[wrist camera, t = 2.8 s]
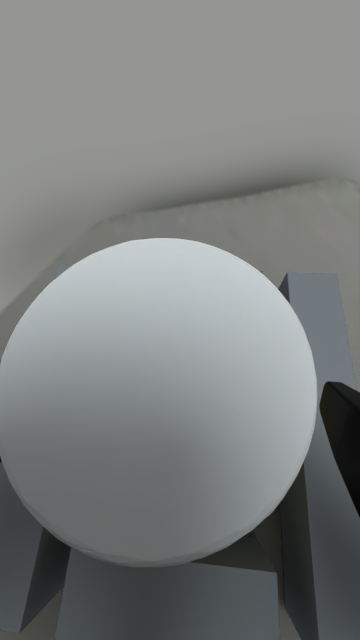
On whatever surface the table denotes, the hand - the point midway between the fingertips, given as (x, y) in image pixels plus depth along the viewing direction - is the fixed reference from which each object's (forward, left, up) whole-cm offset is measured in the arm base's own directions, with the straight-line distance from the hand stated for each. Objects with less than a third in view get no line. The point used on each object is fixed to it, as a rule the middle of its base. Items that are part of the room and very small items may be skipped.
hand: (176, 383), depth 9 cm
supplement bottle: (-1, 0, -8) cm, 8 cm away
